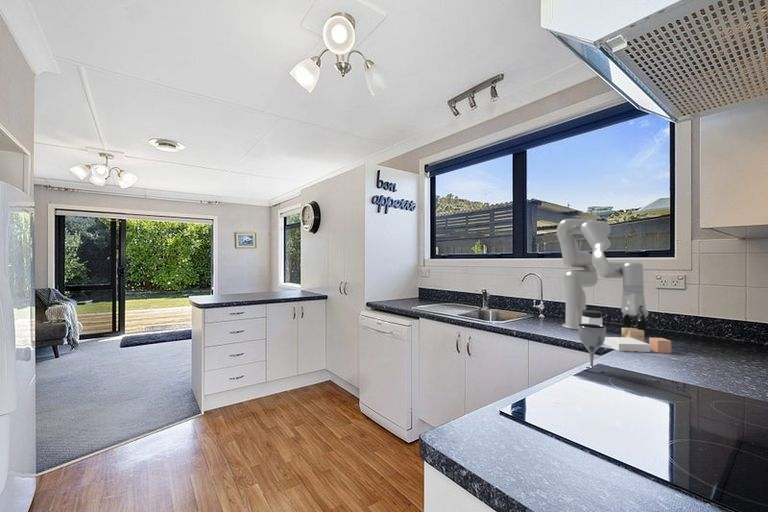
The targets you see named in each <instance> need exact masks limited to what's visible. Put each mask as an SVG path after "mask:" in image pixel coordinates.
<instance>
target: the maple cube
mask: <svg viewBox="0 0 768 512" xmlns="http://www.w3.org/2000/svg"><path fill="white" fill-rule="evenodd" d="M621 337H629V338H634V339H637V340H639V341H642V342H645V330H638V329H637V328H636V327H621Z"/></svg>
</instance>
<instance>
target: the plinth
mask: <svg viewBox="0 0 768 512" xmlns="http://www.w3.org/2000/svg"><path fill="white" fill-rule="evenodd" d="M603 345H605V346H607V347H609V346H610V347H609V348H611V347H612V348H611V349H613V348H614V350H616V351H618V352H634V351H638V353H640V352H641V353H650V352H651V350H650V344H649V343H647V342H645V341H644V342H642V341H639V340H637V339H634V338H629V337H622V336H620V337H619V336H605V341H604V343H603Z"/></svg>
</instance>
